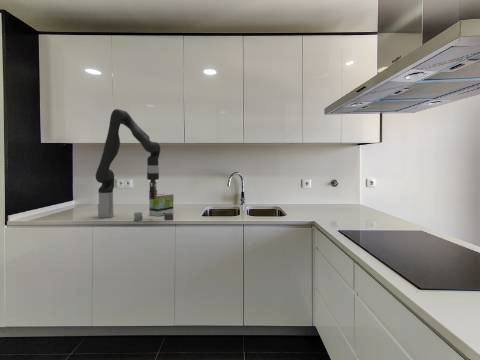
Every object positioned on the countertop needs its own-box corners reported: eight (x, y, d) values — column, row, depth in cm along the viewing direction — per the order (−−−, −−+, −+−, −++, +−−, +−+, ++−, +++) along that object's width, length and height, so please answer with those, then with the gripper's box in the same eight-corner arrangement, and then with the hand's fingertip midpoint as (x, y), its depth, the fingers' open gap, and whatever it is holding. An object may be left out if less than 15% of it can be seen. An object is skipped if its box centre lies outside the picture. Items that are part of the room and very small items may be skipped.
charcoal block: (165, 220, 200) (165, 214, 200) (164, 219, 205) (164, 213, 204) (173, 220, 202) (173, 214, 202) (171, 218, 207) (171, 212, 206)
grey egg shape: (133, 221, 197) (133, 213, 197) (135, 219, 202) (134, 212, 202) (141, 221, 198) (141, 213, 197) (142, 219, 203) (142, 212, 202)
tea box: (158, 216, 213) (158, 195, 211) (149, 215, 218) (148, 194, 217) (173, 213, 225) (173, 193, 224) (164, 211, 231) (164, 192, 229)
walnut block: (149, 199, 198) (149, 190, 197) (150, 198, 202) (150, 189, 202) (156, 199, 198) (156, 190, 198) (157, 198, 203) (157, 189, 202)
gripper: (148, 171, 205) (149, 196, 207) (145, 172, 191) (145, 199, 193) (160, 171, 206) (160, 196, 208) (157, 172, 192) (157, 199, 194)
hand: (153, 197), depth 200 cm, fingers closed on walnut block, 4 cm apart
